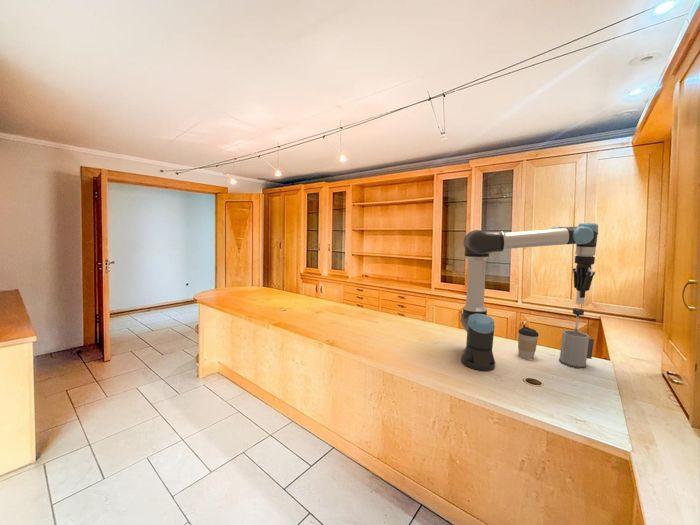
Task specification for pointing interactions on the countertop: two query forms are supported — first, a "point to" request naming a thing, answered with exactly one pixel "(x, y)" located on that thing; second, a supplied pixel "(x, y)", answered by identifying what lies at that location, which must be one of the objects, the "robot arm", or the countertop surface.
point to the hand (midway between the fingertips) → (579, 303)
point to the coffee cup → (527, 342)
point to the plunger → (577, 317)
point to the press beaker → (575, 349)
